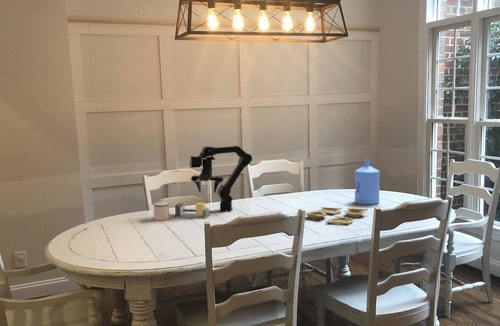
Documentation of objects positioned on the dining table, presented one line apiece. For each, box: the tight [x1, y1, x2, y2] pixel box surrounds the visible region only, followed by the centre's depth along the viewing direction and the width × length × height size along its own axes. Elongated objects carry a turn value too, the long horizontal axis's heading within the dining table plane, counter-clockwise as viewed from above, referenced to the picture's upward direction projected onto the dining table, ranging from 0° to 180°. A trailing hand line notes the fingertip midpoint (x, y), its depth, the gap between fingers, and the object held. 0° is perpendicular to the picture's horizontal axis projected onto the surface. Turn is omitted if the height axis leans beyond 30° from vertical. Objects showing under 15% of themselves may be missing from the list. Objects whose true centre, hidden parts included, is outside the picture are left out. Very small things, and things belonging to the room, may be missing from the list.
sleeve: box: [195, 201, 206, 216], centre depth 273 cm, size 4×5×7 cm
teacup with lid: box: [153, 198, 170, 222], centre depth 270 cm, size 12×9×12 cm
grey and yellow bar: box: [174, 202, 211, 220], centre depth 274 cm, size 19×8×7 cm, turn 79°
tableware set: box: [305, 206, 369, 226], centre depth 267 cm, size 35×29×4 cm
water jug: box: [354, 159, 381, 205], centre depth 303 cm, size 16×16×28 cm
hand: (207, 192), depth 283 cm, fingers open, 9 cm apart
